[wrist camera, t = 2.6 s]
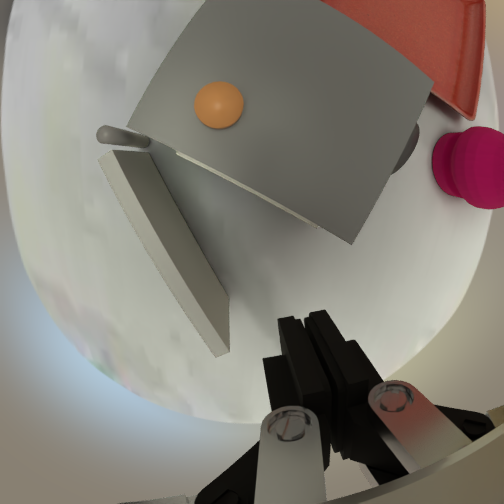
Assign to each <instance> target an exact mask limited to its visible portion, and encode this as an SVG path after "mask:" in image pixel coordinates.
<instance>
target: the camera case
mask: <svg viewBox="0 0 504 504" xmlns="http://www.w3.org/2000/svg"><path fill="white" fill-rule="evenodd" d="M433 84H434V81H432V80H431V79H430V78H429V77H428V76H427V75H426V74H425V73H423V72H422V71H421V70H420V69H419V68H418V67H416V66H415V65H414V64H413V63H412V62H410V61H409V60H408V59H407V58H406V57H404V56H403V55H402V54H401V53H399V52H398V51H397V50H395V49H394V48H393V47H391V46H390V45H389V44H387V43H386V42H385V41H383V40H382V39H381V38H379V37H378V36H376V35H375V34H374V33H372V32H371V31H369V30H368V29H366V28H365V27H363V26H362V25H360V24H359V23H357V22H356V21H354V20H352V19H351V18H349V17H348V16H346V15H344V14H343V13H341V12H339V11H338V10H336V9H334V8H333V7H331V6H329V5H327V4H326V3H324V2H322V1H320V0H206V1H205V2H204V4H203V5H202V6H201V8H200V9H199V10H198V11H197V13H196V14H195V15H194V17H193V18H192V19H191V21H190V22H189V24H188V25H187V26H186V28H185V29H184V31H183V32H182V33H181V35H180V36H179V38H178V39H177V41H176V42H175V44H174V45H173V47H172V48H171V50H170V51H169V53H168V54H167V56H166V58H165V59H164V61H163V62H162V64H161V65H160V67H159V69H158V70H157V72H156V74H155V75H154V77H153V79H152V80H151V82H150V84H149V86H148V87H147V89H146V91H145V93H144V94H143V96H142V98H141V100H140V102H139V103H138V105H137V107H136V109H135V111H134V113H133V115H132V117H131V119H130V120H129V122H128V124H127V126H126V127H128V128H130V129H132V130H134V131H137V132H139V133H141V134H143V135H145V136H147V137H150V138H152V139H154V140H156V141H158V142H160V143H162V144H164V145H167V146H169V147H171V148H173V149H175V150H177V152H176V155H179V156H181V157H183V158H185V159H187V160H189V161H191V162H193V163H195V164H197V165H199V166H201V167H203V168H205V169H207V170H209V171H211V172H213V173H215V174H217V175H218V176H220V177H222V178H224V179H226V180H228V181H230V182H232V183H234V184H236V185H238V186H240V187H242V188H244V189H245V190H247V191H249V192H251V193H253V194H255V195H257V196H259V197H260V198H262V199H264V200H266V201H268V202H270V203H272V204H273V205H275V206H277V207H279V208H281V209H282V210H284V211H286V212H288V213H290V214H292V215H293V216H295V217H297V218H299V219H300V220H302V221H304V222H306V223H308V224H309V225H311V226H313V227H315V228H316V229H317V227H318V226H320V227H322V228H324V229H325V230H327V231H329V232H330V233H332V234H334V235H336V236H337V237H339V238H341V239H342V240H344V241H346V242H347V243H349V244H351V245H352V243H353V242H354V240H355V238H356V237H357V235H358V233H359V232H360V230H361V228H362V226H363V225H364V223H365V221H366V219H367V218H368V216H369V214H370V212H371V210H372V209H373V207H374V205H375V203H376V201H377V199H378V198H379V196H380V194H381V192H382V190H383V188H384V187H385V185H386V183H387V181H388V179H389V177H390V175H392V174H393V173H395V172H396V171H397V170H399V169H400V168H401V167H402V166H403V165H404V164H405V162H406V161H407V160H408V159H409V157H410V156H411V154H412V152H413V151H414V149H415V147H416V144H417V142H418V138H419V126H418V124H417V120H418V118H419V116H420V114H421V112H422V110H423V107H424V105H425V103H426V101H427V98H428V96H429V94H430V91H431V89H432V87H433Z"/></svg>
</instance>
